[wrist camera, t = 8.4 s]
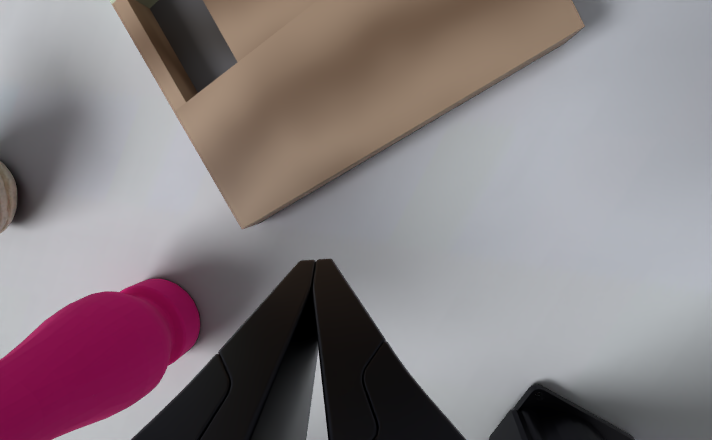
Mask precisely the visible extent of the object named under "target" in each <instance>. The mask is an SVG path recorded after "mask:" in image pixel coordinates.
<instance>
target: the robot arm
mask: <svg viewBox="0 0 712 440" xmlns="http://www.w3.org/2000/svg"><path fill="white" fill-rule="evenodd" d="M318 350H319V359H320V368H321V377H322V386H323V395H324V404H325V413H326V423H327V432H328V440H466V439H465V438H464V437H463V435H462V434H461V433H460V432H459V431H458V430H457V429H456V427H455V426H454V425H453V424H452V423H451V422H450V421H449V419H448V418H447V417H446V416H445V415H444V414H443V413H442V411H441V410H440V409H439V408H438V407H437V406H436V404H435V403H434V402H433V401H432V400H431V399H430V398H429V396H428V395H427V394H426V393H425V392H424V391H423V389H422V388H421V387H420V386H419V384H418V383H417V382H416V381H415V380H414V378H413V377H412V376H411V375H410V374H409V372H408V371H407V369H406V368H405V367H404V365H403V364H402V362H401V361H400V360H399V358H398V357H397V356H396V354H395V353H394V351H393V350H392V348H391V347H390V345H389V344H388V342H386V340H385V338H384V336H383V335H382V333H381V332H380V330H379V329H378V327H377V326H376V324H375V323H374V321H373V320H372V318H371V317H370V315H369V314H368V312H367V311H366V309H365V308H364V306H363V305H362V303H361V302H360V300H359V299H358V297H357V296H356V294H355V293H354V291H353V290H352V288H351V287H350V285H349V284H348V282H347V281H346V279H345V278H344V276H343V275H342V273H341V272H340V270H339V269H338V267H337V266H336V264H335V263H334V261H333V260H332V259H319V260H317V261H315V260H302V261H300V262H298V264H297V265H296V266H295V267H294V268H293V269H292V270H291V271H290V272H289V274H288V275H287V276H286V277H285V278H284V279H283V280H282V281H281V282H280V284H279V285H278V286H277V287H276V288H275V289H274V290H273V291H272V292H271V294H270V295H269V296H268V297H267V298H266V299H265V300H264V301H263V302H262V304H261V305H260V306H259V307H258V308H257V309H256V310H255V311H254V312H253V314H252V315H251V316H250V317H249V318H248V319H247V320H246V321H245V323H244V324H243V325H242V326H241V327H240V328H239V329H238V330H237V331H236V333H235V334H234V335H233V336H232V337H231V338H230V339H229V340H228V341H227V343H226V344H225V345H224V346H223V347H222V348H221V349H220V350H219V352H218V353H219V354H216V355H215V356H214V357H213V358H212V359H211V360H210V361H209V362H208V363H207V365H206V366H205V367H204V368H203V369H202V370H201V371H200V372H199V373H198V374H197V375H196V376H195V377H194V379H193V380H192V381H191V382H190V383H189V384H188V385H187V386H186V387H185V388H184V389H183V390H182V391H181V392H180V393H179V394H178V395H177V396H176V397H175V398H174V399H173V400H172V401H171V402H170V403H169V404H168V405H167V406H166V407H165V408H164V409H163V410H162V411H161V412H160V413H159V414H158V415H157V416H156V417H155V418H153V419H152V420H151V421H150V422H149V423H148V424H147V425H146V426H145V427H144V428H143V429H142V430H141V431H140V432H139V433H138V434H137V435H135V436H134V437H133V438H132V439H131V440H306V436H307V429H308V422H309V414H310V407H311V399H312V392H313V384H314V377H315V370H316V362H317V355H318ZM537 393H541V395H539V396H536V395H535V394H537ZM489 440H635V439H634V437H632V436H631V435H630V434H628V433H626V432H624V431H622V430H621V429H619V428H617V427H615V426H613V425H612V424H610V423H608V422H606V421H604V420H603V419H601V418H599V417H597V416H595V415H594V414H592V413H590V412H588V411H586V410H585V409H583V408H581V407H579V406H577V405H576V404H574V403H572V402H570V401H568V400H567V399H565V398H563V397H561V396H559V395H558V394H556V393H554V392H552V391H550V390H549V389H547V388H545V387H543V386H541V385H532V386H531V387H530V388H529V389H528V390H527V391H526V393H525V394H524V395H523V397H522V398H521V399H520V400H519V402H518V403H517V404H516V406H515V407H514V408H513V409H512V410H510V411H509V412H508V414H507V415H506V416H505V418H504V419H503V420H502V421H501V423H500V424H499V425H498V427H497V428H496V429H495V430H494V432H493V433H492V434H491V436H490V438H489Z"/></svg>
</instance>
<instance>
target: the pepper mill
mask: <svg viewBox="0 0 712 440" xmlns="http://www.w3.org/2000/svg"><path fill="white" fill-rule="evenodd" d="M199 330H200V319H199V312H198V310H197V307H196V305H195V303H194V301H193V300H192V298H191V297H190V296H189V294H188V293H187V292H186V291H185V290H183V289H182V288H181V287H180V286H178V285H177V284H175V283H173V282H171V281H168V280H164V279H148V280H145V281H142V282H140V283H137V284H135V285H133V286H130V287H128V288H126V289H124V290H122V291H121V292H100V293H95V294H91V295H88V296H86V297H84V298H82V299H80V300H77V301H75V302H73V303H71V304H69V305H67V306H66V307H64V308H62V309H61V310H59V311H58V312H57V313H55V314H54V315H52V316H51V317H50V318H48V319H47V320H45V321H44V322H43V323H42V324H41V325H40V326H39V327H38V328H37V329H36V330H34V331H33V332H32V333H31V334H30V335H29V336H28V337H27V338H26V339H25V340H24V341H23V342H22V343H20V344H19V345H18V346H17V347H16V348H14V349H13V350H12V351H11V352H10V353H8V354H7V355H6V356H5V357H3V358H2V359H1V360H0V440H52V439H54V438H56V437H59V436H61V435H63V434H66V433H68V432H71V431H73V430H76V429H79V428H81V427H84V426H87V425H89V424H92V423H95V422H97V421H100V420H103V419H106V418H108V417H110V416H112V415H114V414H116V413H118V412H120V411H122V410H124V409H126V408H128V407H129V406H131V405H133V404H134V403H136V402H137V401H138V400H140V399H141V398H143V397H144V396H145V395H147V394H148V393H149V392H151V391H152V390H153V389H154V388H155V387H156V386H157V384H158V383H159V382H160V381H161V379H162V377H163V375H164V373H165V371H166V369H167V366H168V365H170V364H172V363H173V362H175V361H176V360H177V359H179V358H180V357H181V356H182V355H183V354H185V353H186V352H187V351H188V350H190V349H191V348H192V346H193V345H194V344H195V342H196V340H197V338H198V335H199Z"/></svg>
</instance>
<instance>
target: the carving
mask: <svg viewBox="0 0 712 440" xmlns="http://www.w3.org/2000/svg"><path fill="white" fill-rule="evenodd" d="M16 208H17V187H16V183H15V180H14V178H13V176H12V174H11V172H10V171H9V170H8V169H7V167H6V166H5V165H4V164H3V163H2V162H1V161H0V233H2V232H3V231H4V230H5V229H6V228H7V227H8V226H9V224H10V223H11V221H12V220H13V217H14V215H15V212H16Z"/></svg>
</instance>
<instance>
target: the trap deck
mask: <svg viewBox="0 0 712 440" xmlns="http://www.w3.org/2000/svg"><path fill="white" fill-rule="evenodd" d="M110 2H111V4H112V5H113V7H114V9H115V10H116V12H117V14H118V16H119V17H120V19H121V21H122V23H123V24H124V26H125V28H126V30H127V31H128V33H129V35H130V36H131V38H132V40H133V42H134V43H135V45H136V47H137V49H138V50H139V52H140V54H141V55H142V57H143V59H144V61H145V62H146V64H147V66H148V68H149V69H150V71H151V73H152V75H153V76H154V78H155V80H156V81H157V83H158V85H159V87H160V88H161V90H162V92H163V94H164V95H165V97H166V99H167V101H168V102H169V104H170V106H171V107H172V109H173V111H174V113H175V114H176V116H177V118H178V120H179V121H180V123H181V125H182V126H183V128H184V130H185V132H186V133H187V135H188V137H189V139H190V140H191V142H192V144H193V146H194V147H195V149H196V151H197V152H198V154H199V156H200V158H201V159H202V161H203V163H204V165H205V166H206V168H207V170H208V171H209V173H210V175H211V177H212V178H213V180H214V182H215V184H216V185H217V187H218V189H219V191H220V192H221V194H222V196H223V197H224V199H225V201H226V203H227V204H228V206H229V208H230V210H231V211H232V213H233V215H234V217H235V218H236V220H237V222H238V223H239V225H240V227H241V229H244V228H247V227H250V226H253V225H256V224H258V223H260V222H262V221H264V220H265V219H267V218H269V217H270V216H272V215H274V214H275V213H277V212H279V211H281V210H282V209H284V208H286V207H287V206H289V205H291V204H292V203H294V202H296V201H298V200H299V199H301V198H303V197H304V196H306V195H308V194H309V193H311V192H313V191H315V190H316V189H318V188H320V187H321V186H323V185H325V184H326V183H328V182H330V181H332V180H333V179H335V178H337V177H338V176H340V175H342V174H343V173H345V172H347V171H348V170H350V169H352V168H354V167H355V166H357V165H359V164H360V163H362V162H364V161H365V160H367V159H369V158H371V157H372V156H374V155H376V154H377V153H379V152H381V151H382V150H384V149H386V148H388V147H389V146H391V145H393V144H394V143H396V142H398V141H399V140H401V139H403V138H405V137H406V136H408V135H410V134H411V133H413V132H415V131H416V130H418V129H420V128H422V127H423V126H425V125H427V124H428V123H430V122H432V121H433V120H435V119H437V118H439V117H440V116H442V115H444V114H445V113H447V112H449V111H450V110H452V109H454V108H456V107H457V106H459V105H461V104H462V103H464V102H466V101H467V100H469V99H471V98H473V97H474V96H476V95H478V94H479V93H481V92H483V91H484V90H486V89H488V88H490V87H491V86H493V85H495V84H496V83H498V82H500V81H501V80H503V79H505V78H507V77H508V76H510V75H512V74H513V73H515V72H517V71H518V70H520V69H522V68H524V67H525V66H527V65H529V64H530V63H532V62H534V61H535V60H537V59H539V58H541V57H542V56H544V55H546V54H547V53H549V52H551V51H552V50H554V49H556V48H558V47H559V46H561V45H563V44H564V43H566V42H567V41H568V40H569V39H570V38H571V37H573V36H574V35H575V34H576V33H577V32H579V31H580V30H581V29H582V28H583V27H584V24H583V22H582V20H581V18H580V16H579V14H578V12H577V10H576V7H575V5H574V3H573V1H572V0H110Z"/></svg>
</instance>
